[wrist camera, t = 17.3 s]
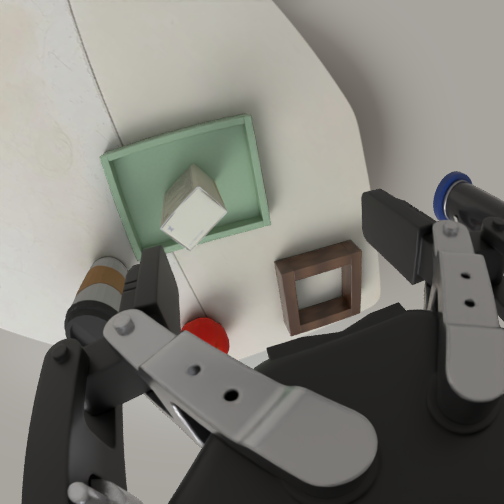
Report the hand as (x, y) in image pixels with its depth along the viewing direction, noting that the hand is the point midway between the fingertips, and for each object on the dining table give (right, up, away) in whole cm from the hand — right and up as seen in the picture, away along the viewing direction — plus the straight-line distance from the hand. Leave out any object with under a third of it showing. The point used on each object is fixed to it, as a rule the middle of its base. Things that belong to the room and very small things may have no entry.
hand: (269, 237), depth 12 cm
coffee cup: (-23, -4, +35) cm, 42 cm away
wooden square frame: (+11, -6, +45) cm, 47 cm away
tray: (-10, +9, +31) cm, 34 cm away
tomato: (-10, -14, +44) cm, 48 cm away
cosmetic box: (-9, +8, +31) cm, 33 cm away
